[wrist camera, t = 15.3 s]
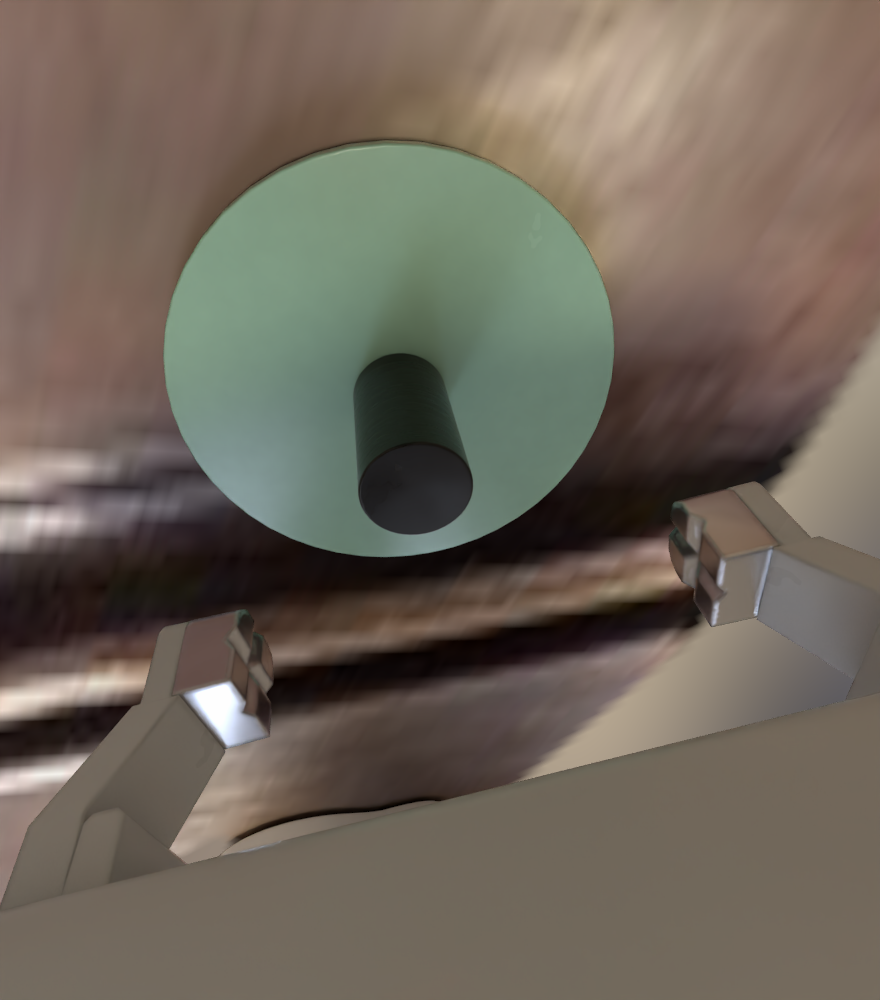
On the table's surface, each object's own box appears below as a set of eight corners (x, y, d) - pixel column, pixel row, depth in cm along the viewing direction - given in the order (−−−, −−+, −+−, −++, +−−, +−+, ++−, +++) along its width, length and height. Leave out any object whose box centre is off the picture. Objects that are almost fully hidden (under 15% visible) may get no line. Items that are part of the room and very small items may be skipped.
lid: (467, 574, 24) (497, 700, 19) (122, 464, 19) (57, 601, 14) (688, 285, 18) (805, 373, 13) (265, 11, 13) (229, 8, 8)
